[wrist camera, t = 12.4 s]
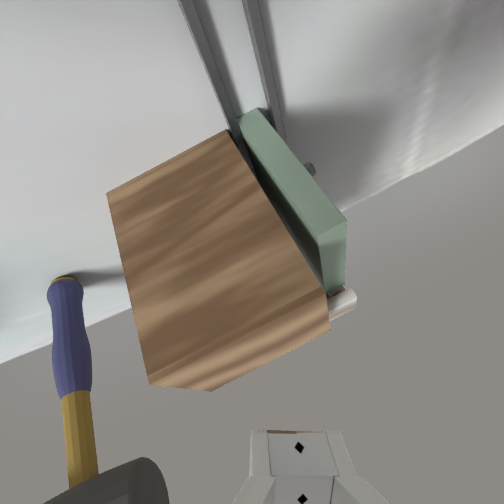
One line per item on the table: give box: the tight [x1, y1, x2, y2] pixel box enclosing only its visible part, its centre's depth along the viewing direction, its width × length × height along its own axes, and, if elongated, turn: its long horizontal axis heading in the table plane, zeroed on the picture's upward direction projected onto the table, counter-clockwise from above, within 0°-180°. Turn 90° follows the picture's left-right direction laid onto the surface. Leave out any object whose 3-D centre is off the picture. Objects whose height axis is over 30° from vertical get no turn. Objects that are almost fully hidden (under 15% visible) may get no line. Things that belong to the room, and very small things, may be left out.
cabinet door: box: [236, 108, 347, 294], centre depth 34 cm, size 15×4×16 cm, turn 16°
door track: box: [178, 0, 287, 185], centre depth 30 cm, size 30×5×1 cm, turn 16°
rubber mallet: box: [44, 277, 169, 504], centre depth 32 cm, size 12×8×30 cm, turn 100°
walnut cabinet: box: [106, 130, 357, 391], centre depth 33 cm, size 16×18×20 cm
